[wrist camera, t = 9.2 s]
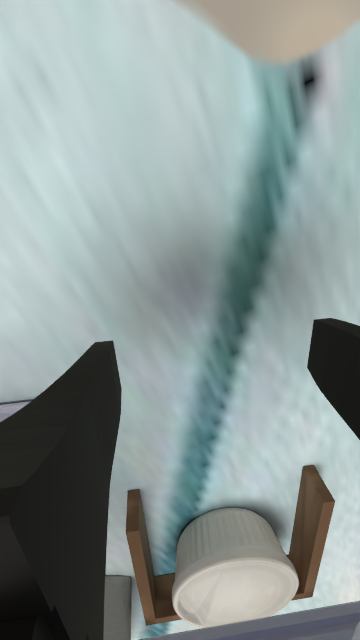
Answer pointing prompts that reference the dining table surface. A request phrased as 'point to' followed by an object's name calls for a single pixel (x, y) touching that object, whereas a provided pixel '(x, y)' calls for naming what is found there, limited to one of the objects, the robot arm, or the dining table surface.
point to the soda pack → (117, 608)
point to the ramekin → (231, 570)
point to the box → (303, 555)
